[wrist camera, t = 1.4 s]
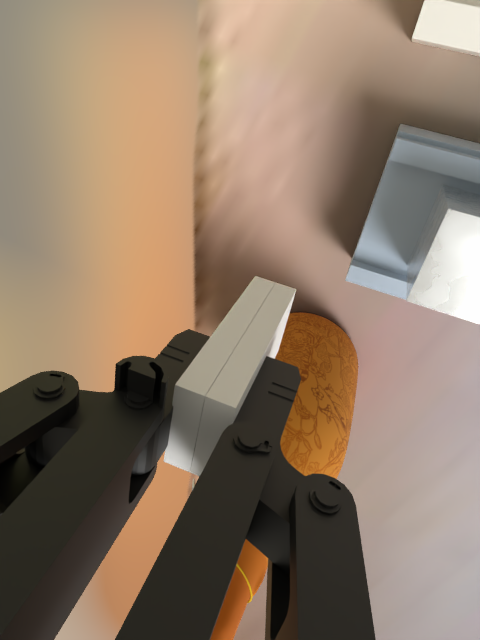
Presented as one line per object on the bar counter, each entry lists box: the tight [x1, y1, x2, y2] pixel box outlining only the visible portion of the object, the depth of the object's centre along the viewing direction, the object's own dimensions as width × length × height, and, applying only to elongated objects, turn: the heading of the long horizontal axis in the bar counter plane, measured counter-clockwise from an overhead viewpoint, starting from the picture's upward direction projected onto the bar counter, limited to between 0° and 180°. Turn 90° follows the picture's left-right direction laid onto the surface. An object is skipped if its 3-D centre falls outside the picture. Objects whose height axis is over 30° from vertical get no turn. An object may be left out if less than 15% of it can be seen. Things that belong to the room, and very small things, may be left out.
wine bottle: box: [192, 312, 358, 640], centre depth 29 cm, size 10×10×30 cm
